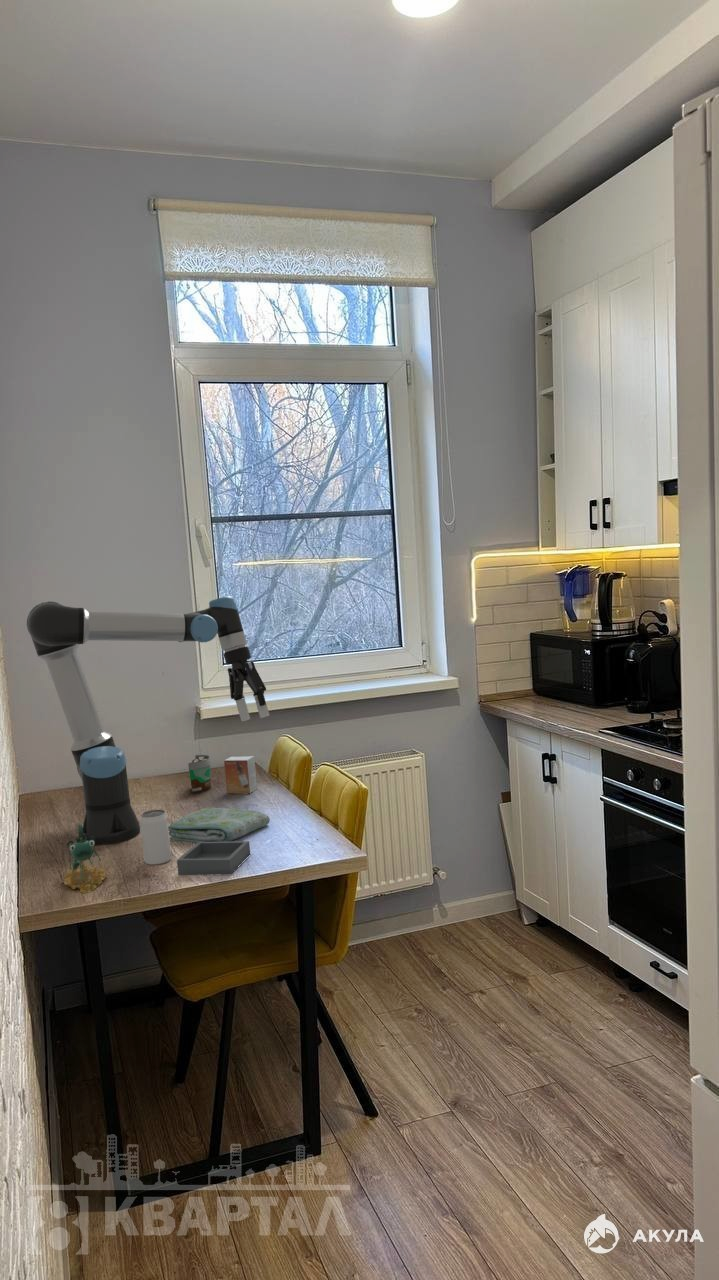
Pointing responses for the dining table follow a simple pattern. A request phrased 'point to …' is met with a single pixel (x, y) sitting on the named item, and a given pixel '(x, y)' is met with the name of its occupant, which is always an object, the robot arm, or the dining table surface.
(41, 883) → the dining table surface
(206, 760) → the food container
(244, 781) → the small box
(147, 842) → the can
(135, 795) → the dining table surface
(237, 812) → the towel
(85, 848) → the frog figurine
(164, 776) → the dining table surface
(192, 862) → the tray
